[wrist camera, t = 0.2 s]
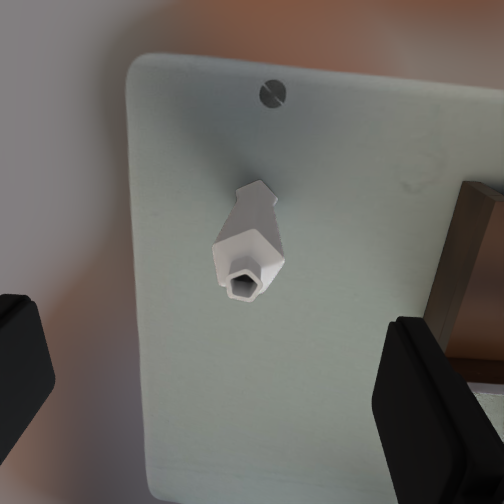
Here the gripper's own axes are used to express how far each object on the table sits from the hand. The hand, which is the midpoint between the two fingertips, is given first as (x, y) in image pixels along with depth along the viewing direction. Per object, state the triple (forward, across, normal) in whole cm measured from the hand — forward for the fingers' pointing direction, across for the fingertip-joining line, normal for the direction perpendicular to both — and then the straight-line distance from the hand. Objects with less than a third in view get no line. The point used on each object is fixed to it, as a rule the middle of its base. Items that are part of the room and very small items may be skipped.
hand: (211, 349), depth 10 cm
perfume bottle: (+26, 0, +4) cm, 26 cm away
